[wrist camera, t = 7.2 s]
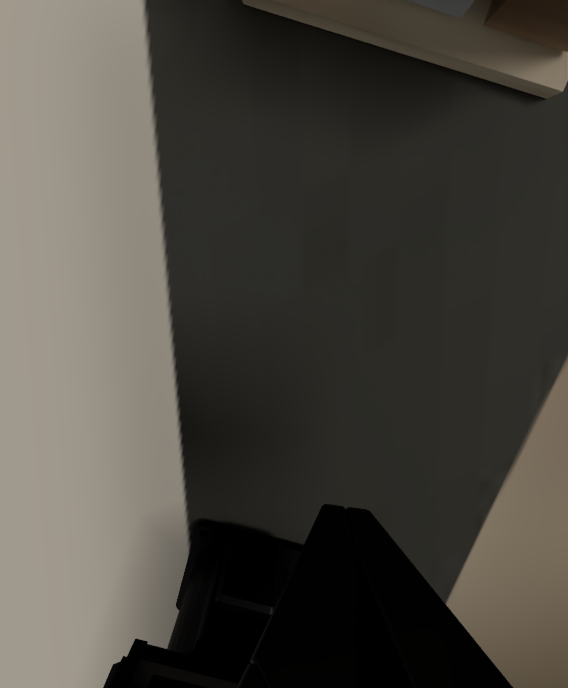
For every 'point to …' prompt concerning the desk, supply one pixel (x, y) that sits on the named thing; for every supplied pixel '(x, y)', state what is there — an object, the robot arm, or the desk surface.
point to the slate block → (446, 5)
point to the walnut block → (532, 20)
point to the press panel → (436, 39)
